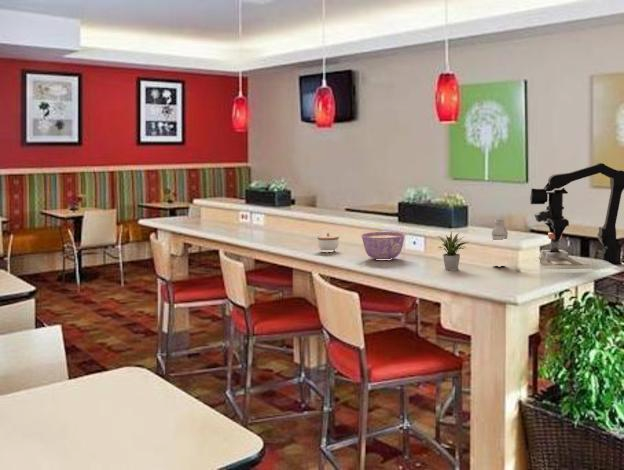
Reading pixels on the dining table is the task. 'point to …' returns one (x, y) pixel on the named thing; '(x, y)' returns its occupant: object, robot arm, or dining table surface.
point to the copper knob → (554, 242)
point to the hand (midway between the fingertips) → (554, 240)
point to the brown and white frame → (557, 258)
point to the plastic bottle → (499, 231)
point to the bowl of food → (383, 244)
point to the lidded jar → (328, 242)
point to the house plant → (451, 252)
